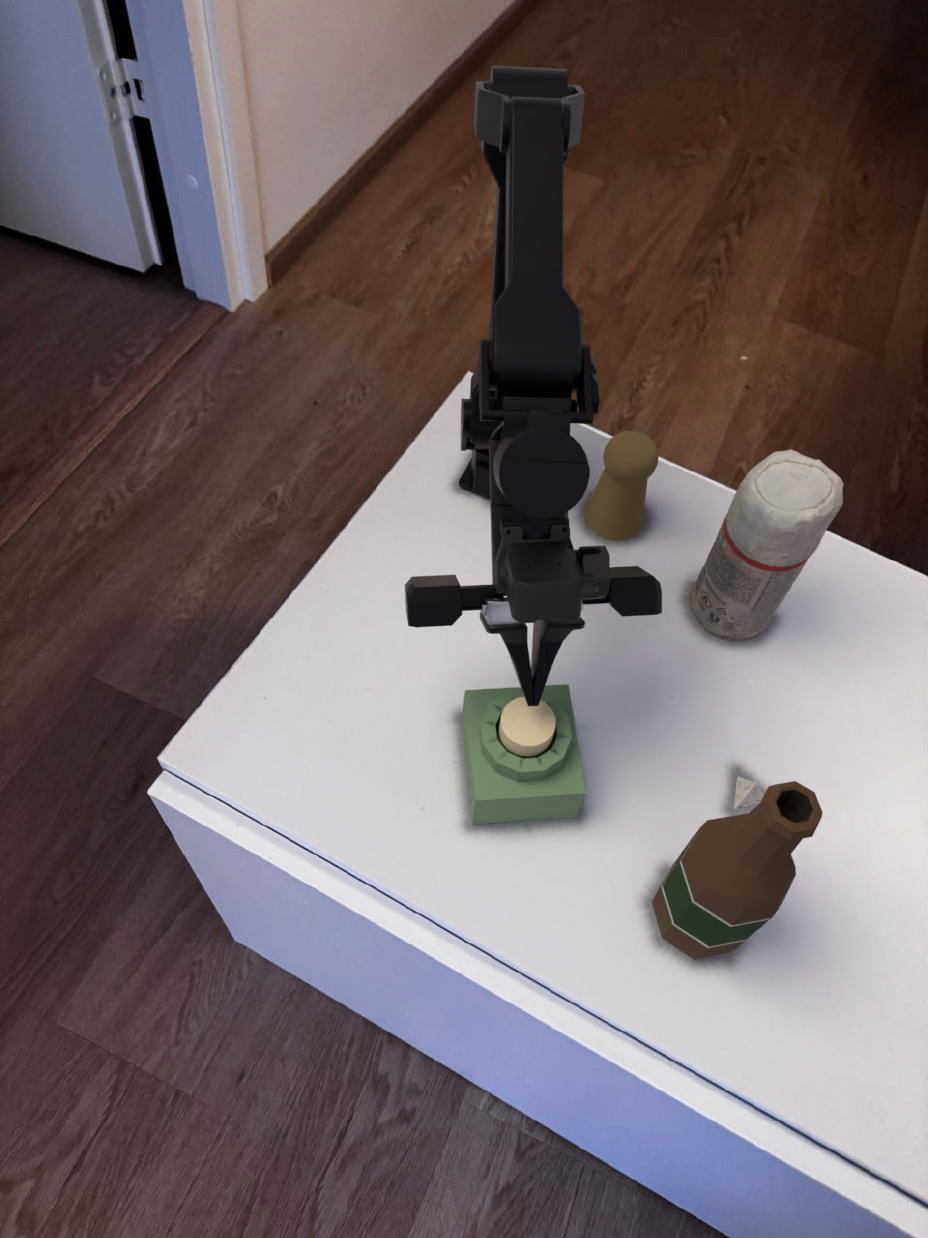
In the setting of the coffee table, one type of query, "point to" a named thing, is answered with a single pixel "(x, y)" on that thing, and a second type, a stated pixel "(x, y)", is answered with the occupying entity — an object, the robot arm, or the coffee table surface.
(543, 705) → the beige push button
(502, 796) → the green button housing
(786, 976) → the coffee table surface
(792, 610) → the coffee table surface
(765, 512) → the spray can
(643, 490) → the olive game pawn
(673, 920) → the beer bottle
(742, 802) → the white speckled wedge
